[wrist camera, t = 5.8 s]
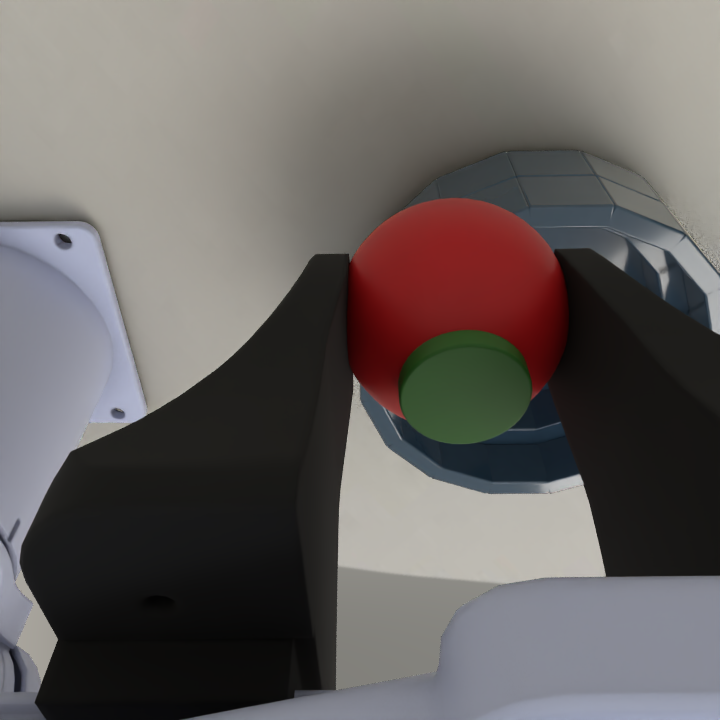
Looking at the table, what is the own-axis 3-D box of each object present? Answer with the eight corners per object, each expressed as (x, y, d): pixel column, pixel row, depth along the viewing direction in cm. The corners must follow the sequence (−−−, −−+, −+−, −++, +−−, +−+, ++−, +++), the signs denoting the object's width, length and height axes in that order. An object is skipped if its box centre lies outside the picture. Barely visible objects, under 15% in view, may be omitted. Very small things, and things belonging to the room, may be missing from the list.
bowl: (362, 412, 26) (362, 495, 23) (357, 145, 19) (355, 208, 16) (637, 410, 26) (675, 493, 22) (722, 140, 19) (791, 203, 16)
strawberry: (345, 341, 15) (339, 489, 12) (335, 163, 12) (324, 287, 9) (530, 337, 15) (578, 486, 12) (558, 157, 12) (628, 281, 9)
